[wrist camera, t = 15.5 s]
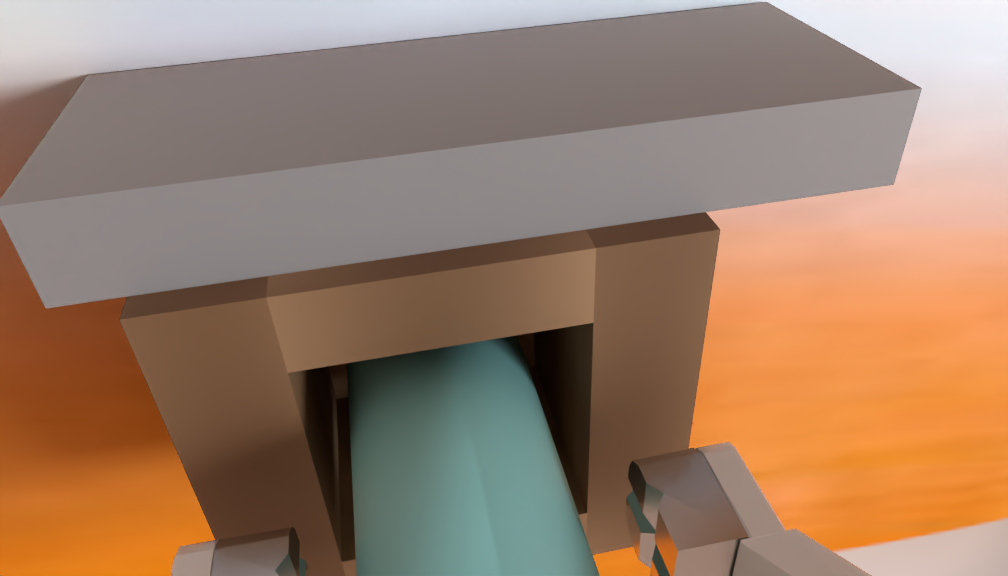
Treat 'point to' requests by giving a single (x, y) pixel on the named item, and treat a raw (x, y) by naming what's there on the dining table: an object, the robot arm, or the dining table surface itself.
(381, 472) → the dowel
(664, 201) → the backstop wall
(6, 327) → the dining table surface
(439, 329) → the walnut block
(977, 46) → the dining table surface
